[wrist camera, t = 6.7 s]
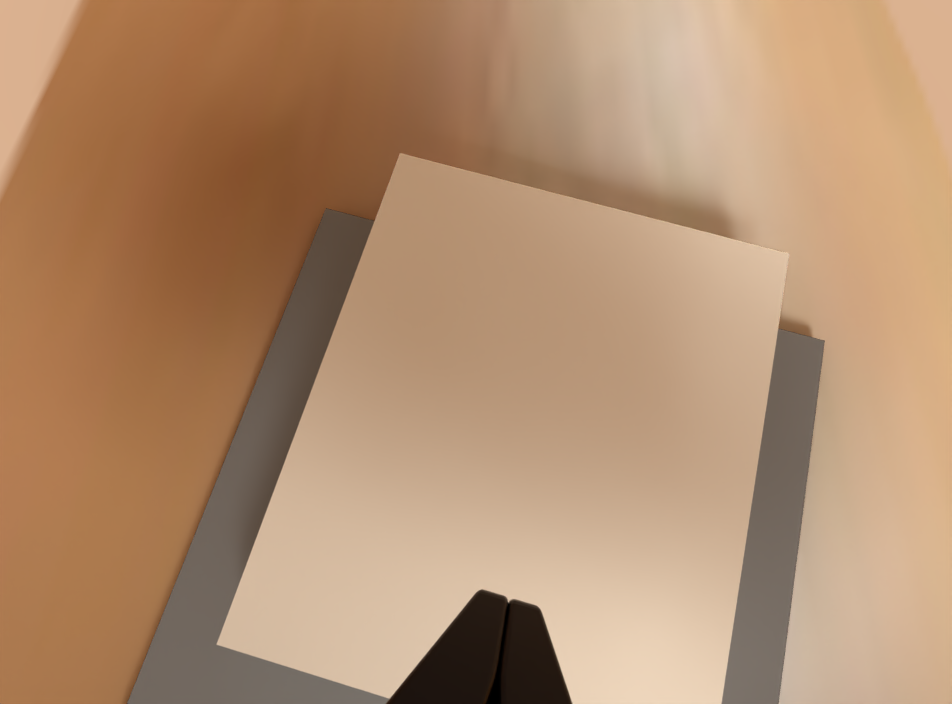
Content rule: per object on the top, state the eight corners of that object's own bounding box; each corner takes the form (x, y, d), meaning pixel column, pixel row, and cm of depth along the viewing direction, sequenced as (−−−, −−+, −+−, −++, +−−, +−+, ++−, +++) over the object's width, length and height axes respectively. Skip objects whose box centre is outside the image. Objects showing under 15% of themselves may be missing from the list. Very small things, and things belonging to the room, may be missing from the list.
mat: (702, 1198, 13) (712, 1221, 13) (32, 963, 14) (17, 976, 14) (815, 346, 19) (824, 340, 18) (329, 217, 20) (325, 208, 19)
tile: (706, 798, 13) (789, 253, 17) (216, 644, 14) (400, 152, 17) (675, 770, 15) (756, 286, 19) (245, 636, 16) (405, 194, 19)
